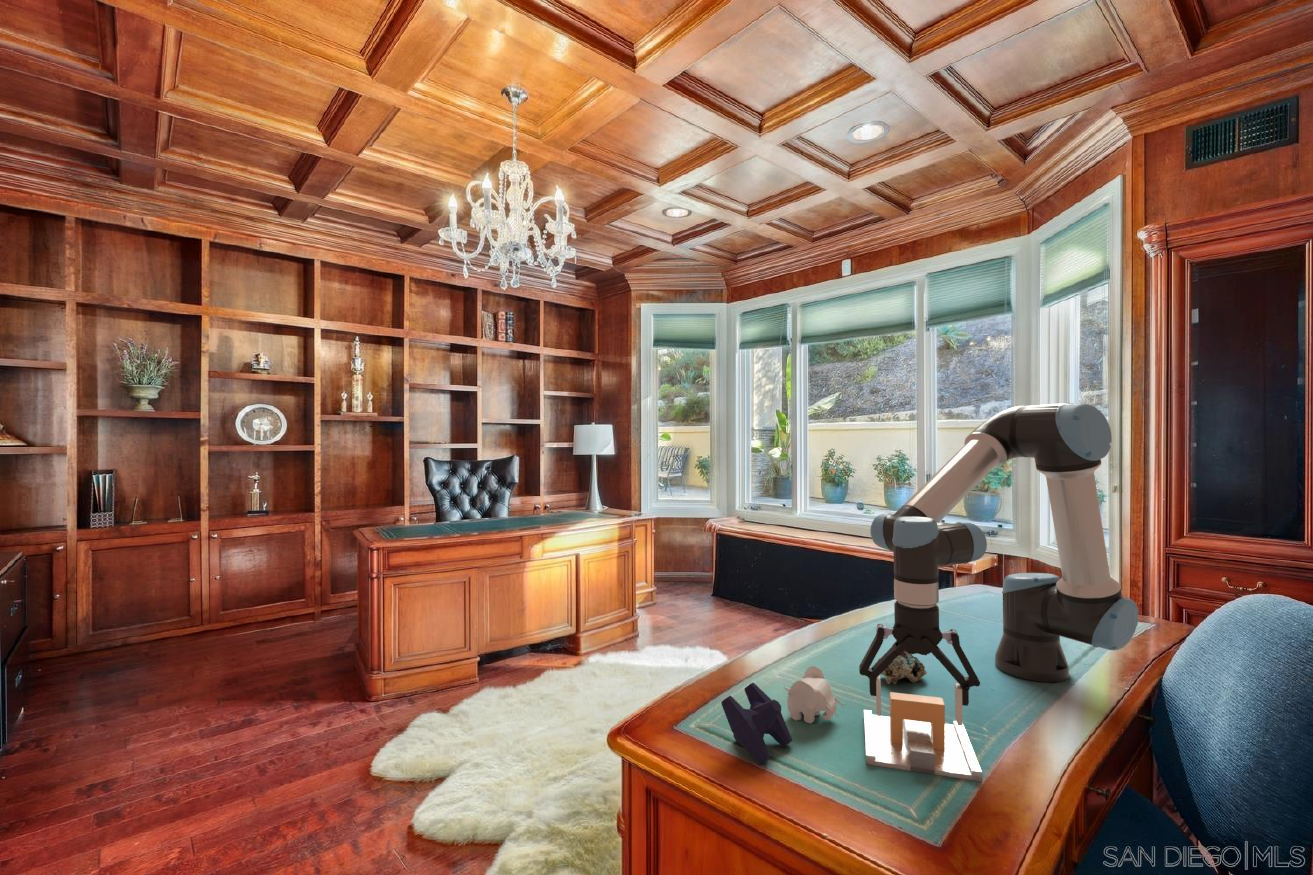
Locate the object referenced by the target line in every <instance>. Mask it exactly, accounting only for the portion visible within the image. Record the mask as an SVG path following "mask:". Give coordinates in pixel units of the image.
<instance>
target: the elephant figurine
mask: <svg viewBox="0 0 1313 875" xmlns="http://www.w3.org/2000/svg"><path fill="white" fill-rule="evenodd" d="M782 688H783V689H785V690H786V691H787V695H788V696H787V700H786V704H787V705H786V707H787V710H788V713H789V716H790V717H791V719H792V720H795V721H801V720H802V718H803V720H804V722H805V723H808V724H812V723H814V722H815V717H816V716H819V715H820V713H821V712H823V713H822V715H821V717H822V719H823V720H826V721H829V720H831V719H832V717H833V716H834V715H835V716H836V717H839V715H838V714H837V713H836V711H837V704H839V705H840V706H841V707H842V708H843V709H845V707H844V705H843V703H842V702H841V701H840V700H839V699H838V698H837V697H835V696H834V695H833V693H832V690H831V685H830V683H829V681H827V680H826V679H825V675H824V673H823V671H822V670H821V668H819V667H816V666H814V665H812V666H810V667H808V668H807V669H806V670H805V671H804V674H803V677H802V679H800V680H797V681H795V682H794V683H792V685H791V686H790V688H789V687H787V686H783V687H782ZM802 714H803V715H802Z"/></svg>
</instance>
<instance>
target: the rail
mask: <svg viewBox="0 0 1313 875" xmlns="http://www.w3.org/2000/svg"><path fill="white" fill-rule="evenodd" d="M863 725H864V726H863V728H864V744H865V746H864V747H865V764H866V765H868V766H869V765H870V766H876V767H881V768H889V769H896V770H902V771H909V772H914V773H922V774H928V775H936V776H942V777H949V778H955V779H962V780H967V781H968V780H969V781H974V782H983V771H982V769H981V766H980V764H979V761H978V759H977V755H976V753H975V751H974V748H973V746H972V743H971V741H970V738H969V736H968V732H967V731H966V728H965V725H964V724H963V726H960V725H958V724H957V721H956V720H953V724H950V723H945V749H938V748H933V746H932V742H931V738H930V723H929V722H921V721H913V720H905V719H903V744H901V743H893V742H891V738H890V716H888V715H887V716H885V715H881V716H877V714H873V710H871V709H863Z"/></svg>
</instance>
